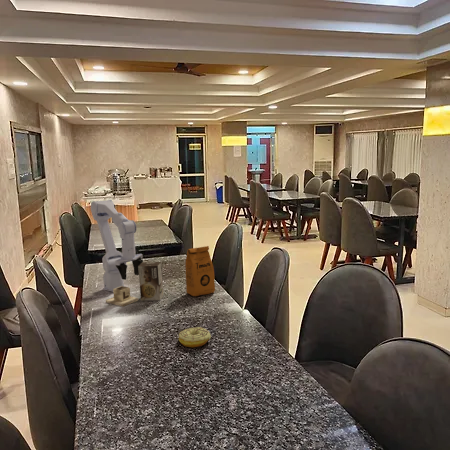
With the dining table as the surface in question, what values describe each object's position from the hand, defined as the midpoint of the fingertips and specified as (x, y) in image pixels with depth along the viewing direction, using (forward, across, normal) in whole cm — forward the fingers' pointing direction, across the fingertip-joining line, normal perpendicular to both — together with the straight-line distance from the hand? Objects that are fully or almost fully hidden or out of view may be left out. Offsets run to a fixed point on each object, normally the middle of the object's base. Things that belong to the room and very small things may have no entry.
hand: (130, 277), depth 185 cm
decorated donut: (+10, -21, -54) cm, 58 cm away
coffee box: (+10, +3, -10) cm, 14 cm away
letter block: (+8, -6, -1) cm, 11 cm away
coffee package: (+10, +20, -25) cm, 33 cm away
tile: (+9, -6, -1) cm, 11 cm away
